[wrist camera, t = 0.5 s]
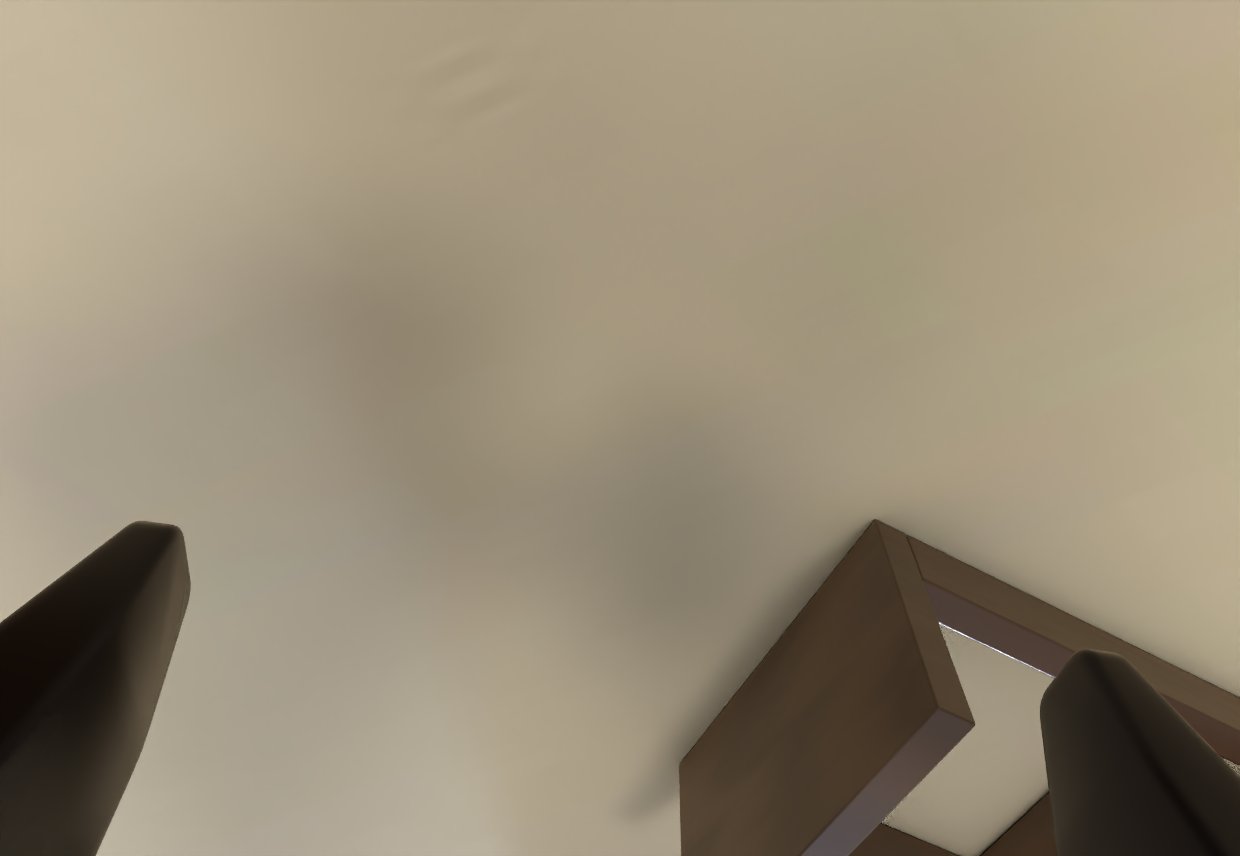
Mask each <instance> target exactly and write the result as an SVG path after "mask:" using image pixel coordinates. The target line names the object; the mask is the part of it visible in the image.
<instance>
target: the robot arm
mask: <svg viewBox="0 0 1240 856" xmlns="http://www.w3.org/2000/svg"><path fill="white" fill-rule="evenodd" d="M190 585H191V583H190V575H189V568H188V562H187V555H186V548H185V542H184V536H183V533H182V531H181V530H180V528H179V527H177V526H174V525H170V524H162V523H155V522H148V521H137V522H134V523H132V524H130V525H128V526H127V527H125V528H124V529H123V530H121V531H120V532H119V533H117V534H116V535H115V536H113V537H112V538H111V539H110V540H108V541H107V542H106V543H104V544H103V545H102V546H100V547H99V548H98V549H96V550H95V551H94V552H93V553H91V554H90V555H89V556H87V557H86V558H85V559H83V560H82V561H81V562H79V563H78V564H77V565H75V566H74V567H73V568H72V569H70V570H69V571H68V572H66V573H65V574H64V575H62V576H61V577H60V578H58V579H57V580H56V581H54V582H53V583H52V584H51V585H49V586H48V587H47V588H45V589H44V590H43V591H41V592H40V593H39V594H37V595H36V596H35V597H33V598H32V599H31V600H30V601H28V602H27V603H26V604H24V605H23V606H22V607H20V608H19V609H18V610H16V611H15V612H14V613H13V614H11V615H10V616H9V617H7V618H6V619H5V620H3V621H2V622H1V623H0V856H96V854H97V851H98V849H99V847H100V845H101V843H102V840H103V838H104V836H105V834H106V831H107V829H108V827H109V825H110V822H111V820H112V818H113V816H114V813H115V811H116V809H117V807H118V804H119V802H120V800H121V798H122V795H123V793H124V791H125V789H126V786H127V784H128V782H129V780H130V777H131V775H132V773H133V771H134V768H135V766H136V763H137V761H138V758H139V756H140V753H141V751H142V748H143V745H144V742H145V739H146V736H147V733H148V731H149V728H150V724H151V721H152V718H153V715H154V712H155V708H156V705H157V702H158V699H159V696H160V692H161V689H162V686H163V683H164V679H165V676H166V673H167V670H168V667H169V663H170V660H171V657H172V654H173V651H174V647H175V644H176V641H177V638H178V635H179V631H180V628H181V625H182V622H183V618H184V615H185V612H186V609H187V605H188V601H189V596H190ZM1040 720H1041V728H1042V737H1043V745H1044V754H1045V762H1046V770H1047V779H1048V787H1049V795H1050V804H1051V812H1052V820H1053V829H1054V836H1055V843H1056V849H1057V856H1240V776H1239V775H1238V774H1237V773H1236V772H1235V771H1234V770H1233V769H1232V768H1231V767H1230V766H1229V765H1228V764H1227V763H1226V762H1225V761H1224V760H1223V759H1222V758H1221V757H1220V756H1219V755H1218V754H1217V753H1216V752H1215V750H1214V749H1213V748H1212V747H1211V746H1210V745H1209V744H1208V743H1207V742H1206V741H1205V740H1204V739H1203V738H1202V737H1201V736H1200V735H1199V734H1198V733H1197V732H1196V731H1195V730H1194V729H1193V728H1192V727H1191V726H1190V725H1189V723H1188V722H1187V721H1186V720H1185V719H1184V718H1183V717H1182V716H1181V715H1180V714H1179V713H1178V712H1177V711H1176V710H1175V709H1174V708H1173V707H1172V706H1171V705H1170V704H1169V703H1168V702H1167V701H1166V700H1165V699H1164V698H1163V697H1162V695H1161V694H1160V693H1159V692H1158V691H1157V690H1156V689H1155V688H1154V687H1153V686H1152V685H1151V684H1150V683H1149V682H1148V681H1147V680H1146V679H1145V678H1144V677H1143V676H1142V675H1141V674H1140V673H1139V672H1138V671H1137V670H1136V668H1135V667H1134V666H1133V665H1132V664H1131V663H1130V662H1129V661H1128V660H1126V659H1125V658H1124V657H1123V656H1121V655H1119V654H1117V653H1113V652H1107V651H1099V650H1092V649H1081V650H1079V651H1077V652H1075V653H1074V654H1073V655H1072V656H1071V657H1070V659H1069V660H1068V661H1067V663H1066V664H1065V665H1064V667H1063V668H1062V669H1061V671H1060V672H1059V673H1058V675H1057V676H1056V677H1055V679H1054V680H1053V681H1052V683H1051V684H1050V685H1049V687H1048V688H1047V689H1046V691H1045V693H1044V695H1043V698H1042V700H1041V705H1040Z"/></svg>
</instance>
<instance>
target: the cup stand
mask: <svg viewBox="0 0 1240 856" xmlns="http://www.w3.org/2000/svg"><path fill="white" fill-rule="evenodd" d="M938 623H939V624H941V625H943V626H945V627H947V628H949V629H951V630H954V631H956V632H958V633H960V634H962V635H964V636H966V637H968V638H970V639H973V640H975V641H977V642H979V643H981V644H983V645H985V646H987V647H990V648H992V649H994V650H996V651H998V652H1000V653H1002V654H1004V655H1006V656H1009V657H1011V658H1013V659H1015V660H1017V661H1019V662H1021V663H1023V664H1026V665H1028V666H1030V667H1032V668H1034V669H1036V670H1038V671H1040V672H1043V673H1045V674H1047V675H1049V676H1051V677H1053V678H1055V677H1056V676H1057V675H1058V673H1059V672H1060V671H1061V669H1062V668H1063V667H1064V665H1065V664H1066V663H1067V661H1068V660H1069V659H1070V657H1071V656H1072V655H1073V654H1074V653H1075V652H1077V651H1079V650H1081V649H1092V650H1099V651H1107V652H1113V653H1117V654H1119V655H1121V656H1123V657H1124V658H1125V659H1126V660H1128V661H1129V662H1130V663H1131V664H1132V665H1133V666H1134V667H1135V668H1136V670H1137V671H1138V672H1139V673H1140V674H1141V675H1142V676H1143V677H1144V678H1145V679H1146V680H1147V681H1148V682H1149V683H1150V684H1151V685H1152V686H1153V687H1154V688H1155V689H1156V690H1157V691H1158V692H1159V693H1160V694H1161V695H1162V697H1163V698H1164V699H1165V700H1166V701H1167V702H1168V703H1169V704H1170V705H1171V706H1172V707H1173V708H1174V709H1175V710H1176V711H1177V712H1178V713H1179V714H1180V715H1181V716H1182V717H1183V718H1184V719H1185V720H1186V721H1187V722H1188V723H1189V725H1190V726H1191V727H1192V728H1193V729H1194V730H1195V731H1196V732H1197V733H1198V734H1199V735H1200V736H1201V737H1202V738H1203V739H1204V740H1205V741H1206V742H1207V743H1208V744H1209V745H1210V746H1211V747H1212V748H1213V749H1214V750H1215V752H1216V753H1217V754H1218V755H1219V756H1220V757H1223V758H1225V759H1227V760H1229V761H1231V762H1233V763H1235V764H1237V765H1240V698H1239V697H1236V696H1234V695H1232V694H1230V693H1228V692H1226V691H1224V690H1222V689H1220V688H1218V687H1216V686H1214V685H1212V684H1210V683H1208V682H1206V681H1204V680H1202V679H1200V678H1198V677H1196V676H1194V675H1192V674H1189V673H1187V672H1185V671H1183V670H1181V669H1179V668H1177V667H1175V666H1173V665H1171V664H1169V663H1167V662H1165V661H1163V660H1161V659H1159V658H1157V657H1155V656H1153V655H1151V654H1149V653H1147V652H1145V651H1143V650H1140V649H1138V648H1136V647H1134V646H1132V645H1130V644H1128V643H1126V642H1124V641H1122V640H1120V639H1118V638H1116V637H1114V636H1112V635H1110V634H1108V633H1106V632H1104V631H1102V630H1100V629H1098V628H1096V627H1093V626H1091V625H1089V624H1087V623H1085V622H1083V621H1081V620H1079V619H1077V618H1075V617H1073V616H1071V615H1069V614H1067V613H1065V612H1063V611H1061V610H1059V609H1057V608H1055V607H1053V606H1051V605H1049V604H1047V603H1044V602H1042V601H1040V600H1038V599H1036V598H1034V597H1032V596H1030V595H1028V594H1026V593H1024V592H1022V591H1020V590H1018V589H1016V588H1014V587H1012V586H1010V585H1008V584H1006V583H1004V582H1002V581H1000V580H998V579H995V578H993V577H991V576H989V575H987V574H985V573H983V572H981V571H979V570H977V569H975V568H973V567H971V566H969V565H967V564H965V563H963V562H961V561H959V560H957V559H955V558H953V557H951V556H948V555H946V554H944V553H942V552H940V551H938V550H936V549H934V548H932V547H930V546H928V545H926V544H924V543H922V542H920V541H918V540H916V539H914V538H912V537H910V536H907V535H905V534H904V533H902V532H900V531H898V530H896V529H894V528H892V527H890V526H888V525H886V524H884V523H882V522H880V521H878V520H874V521H873V523H872V524H871V525H870V526H869V528H868V529H867V530H866V531H865V533H864V534H863V535H862V536H861V538H860V539H859V540H858V541H857V543H856V544H855V545H854V546H853V548H852V549H851V550H850V551H849V553H848V554H847V555H846V556H845V558H844V559H843V560H842V561H841V563H840V564H839V565H838V567H837V568H836V569H835V570H834V572H833V573H832V574H831V575H830V577H829V578H828V579H827V580H826V582H825V583H824V584H823V585H822V587H821V588H820V589H819V590H818V592H817V593H816V594H815V595H814V597H813V598H812V599H811V600H810V602H809V603H808V604H807V605H806V607H805V608H804V609H803V610H802V612H801V613H800V614H799V615H798V617H797V618H796V619H795V620H794V622H793V623H792V624H791V625H790V627H789V628H788V629H787V630H786V632H785V633H784V634H783V635H782V637H781V638H780V639H779V640H778V642H777V643H776V644H775V646H774V647H773V648H772V649H771V651H770V652H769V653H768V654H767V656H766V657H765V658H764V659H763V661H762V662H761V663H760V664H759V666H758V667H757V668H756V669H755V671H754V672H753V673H752V674H751V676H750V677H749V678H748V679H747V681H746V682H745V683H744V684H743V686H742V687H741V688H740V689H739V691H738V692H737V693H736V694H735V696H734V697H733V698H732V699H731V701H730V702H729V703H728V704H727V706H726V707H725V708H724V709H723V711H722V712H721V713H720V714H719V716H718V717H717V718H716V719H715V721H714V722H713V723H712V725H711V726H710V727H709V728H708V730H707V731H706V732H705V733H704V735H703V736H702V737H701V738H700V740H699V741H698V742H697V743H696V745H695V746H694V747H693V748H692V750H691V751H690V752H689V753H688V755H687V756H686V757H685V758H684V760H683V761H682V762H681V763H680V765H679V783H680V824H681V856H957V855H955V854H952V853H950V852H947V851H945V850H943V849H940V848H938V847H935V846H933V845H931V844H928V843H926V842H923V841H921V840H919V839H916V838H914V837H912V836H909V835H907V834H904V833H902V832H900V831H897V830H895V829H892V828H890V827H888V826H885V825H883V824H880V823H881V822H882V820H883V819H884V818H885V817H886V816H887V815H888V814H889V813H890V812H891V811H892V810H893V809H894V808H895V807H896V806H897V805H898V804H899V803H900V802H901V801H902V800H903V799H904V798H905V797H906V796H907V795H908V794H909V793H910V792H911V791H912V790H913V789H914V788H915V787H916V786H917V785H918V784H919V783H920V782H921V781H922V779H923V778H924V777H925V776H926V775H927V774H928V773H929V772H930V771H931V770H932V769H933V768H934V767H935V766H936V765H937V764H938V763H939V762H940V761H941V760H942V759H943V758H944V757H945V756H946V755H947V754H948V753H949V752H950V751H951V750H952V749H953V748H954V747H955V746H956V745H957V744H958V743H959V742H960V741H961V740H962V738H963V737H964V736H965V735H966V734H967V733H968V732H969V731H970V730H971V729H972V728H973V727H974V726H975V721H974V719H973V716H972V713H971V711H970V708H969V705H968V702H967V700H966V697H965V694H964V692H963V689H962V686H961V684H960V681H959V678H958V675H957V673H956V670H955V667H954V665H953V662H952V659H951V657H950V654H949V651H948V648H947V646H946V643H945V640H944V638H943V635H942V632H941V630H940V627H939V624H938ZM982 856H1057V849H1056V843H1055V836H1054V829H1053V820H1052V812H1051V804H1050V795H1049V793H1048V794H1047V795H1046V796H1045V797H1044V798H1043V799H1042V800H1041V801H1040V802H1038V803H1037V804H1036V805H1035V806H1034V807H1033V808H1032V809H1031V810H1030V811H1029V812H1028V813H1027V814H1026V815H1025V816H1023V817H1022V818H1021V819H1020V820H1019V821H1018V822H1017V823H1016V824H1015V825H1014V826H1013V827H1012V828H1011V829H1009V830H1008V831H1007V832H1006V833H1005V834H1004V835H1003V836H1002V837H1001V838H1000V839H999V840H998V841H997V842H996V843H994V844H993V845H992V846H991V847H990V848H989V849H988V850H987V851H986V852H985V853H984V854H983V855H982Z"/></svg>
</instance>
